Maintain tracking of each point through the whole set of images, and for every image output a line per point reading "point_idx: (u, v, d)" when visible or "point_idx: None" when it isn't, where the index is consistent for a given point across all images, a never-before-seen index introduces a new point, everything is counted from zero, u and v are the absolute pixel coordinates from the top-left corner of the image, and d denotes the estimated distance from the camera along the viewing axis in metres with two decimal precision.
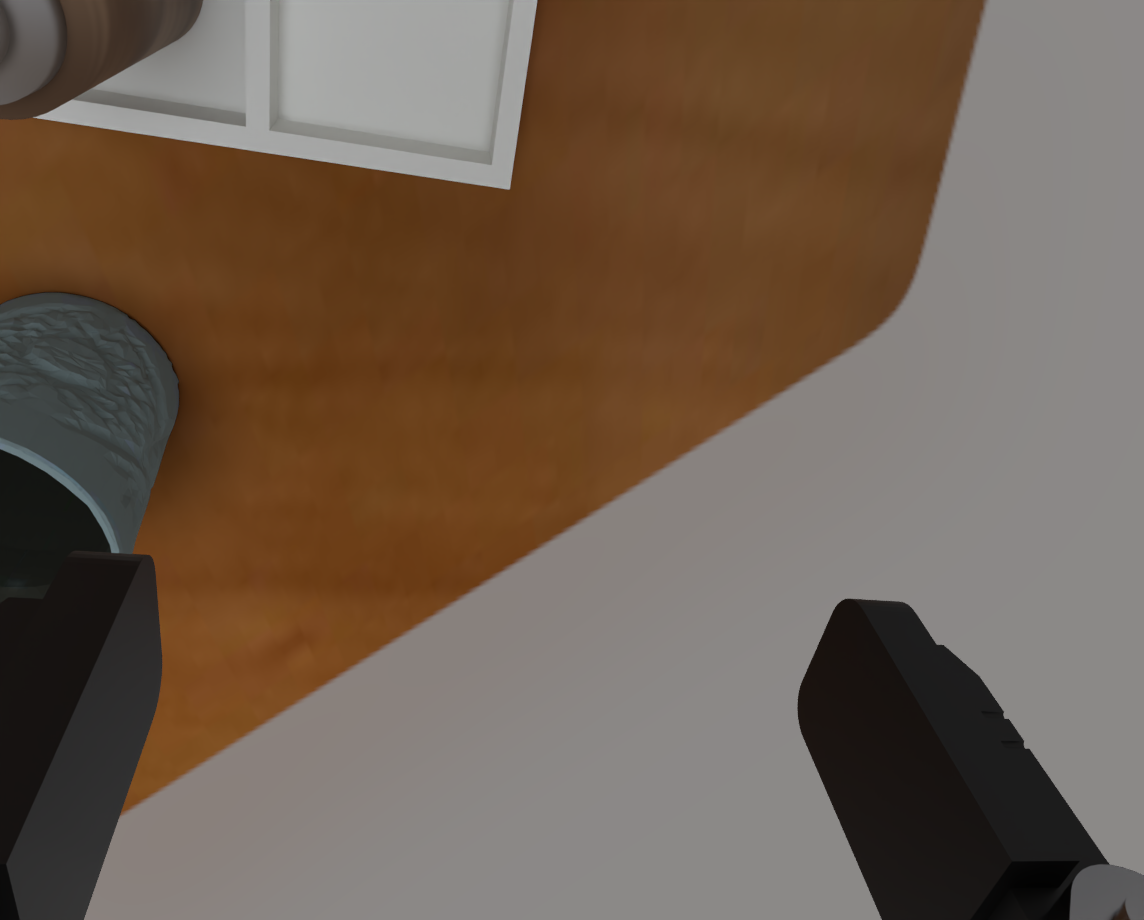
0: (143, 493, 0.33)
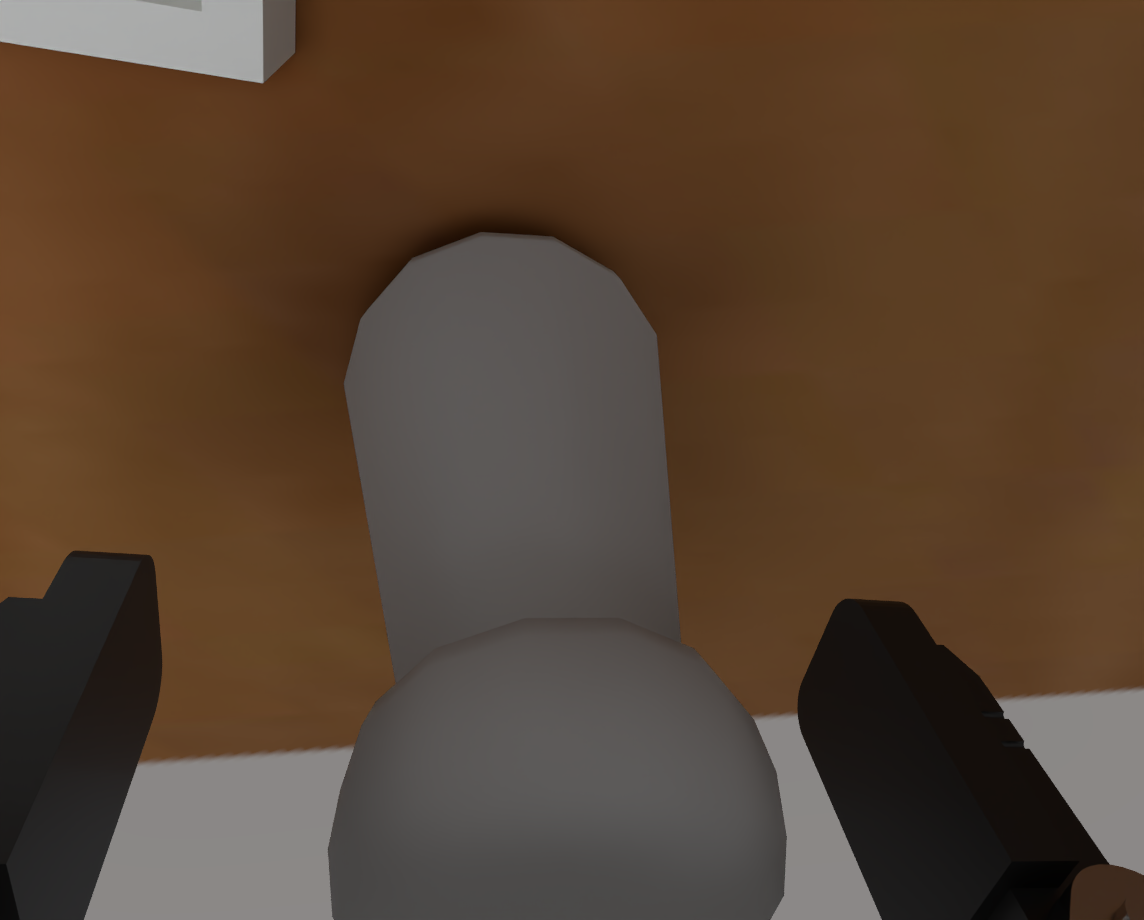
0: None
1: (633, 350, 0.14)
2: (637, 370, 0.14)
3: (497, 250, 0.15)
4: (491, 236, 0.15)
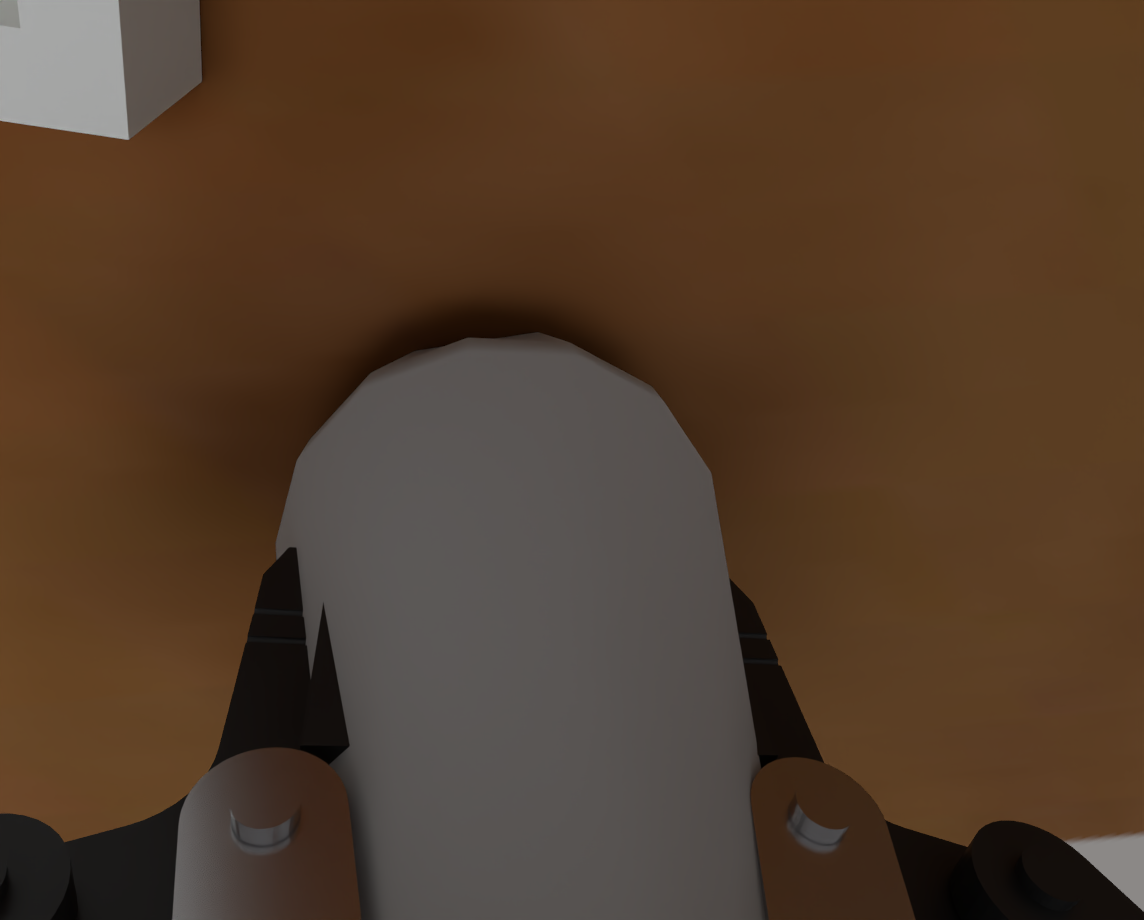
0: None
1: (691, 522, 0.10)
2: (698, 558, 0.09)
3: (491, 372, 0.10)
4: (484, 347, 0.10)
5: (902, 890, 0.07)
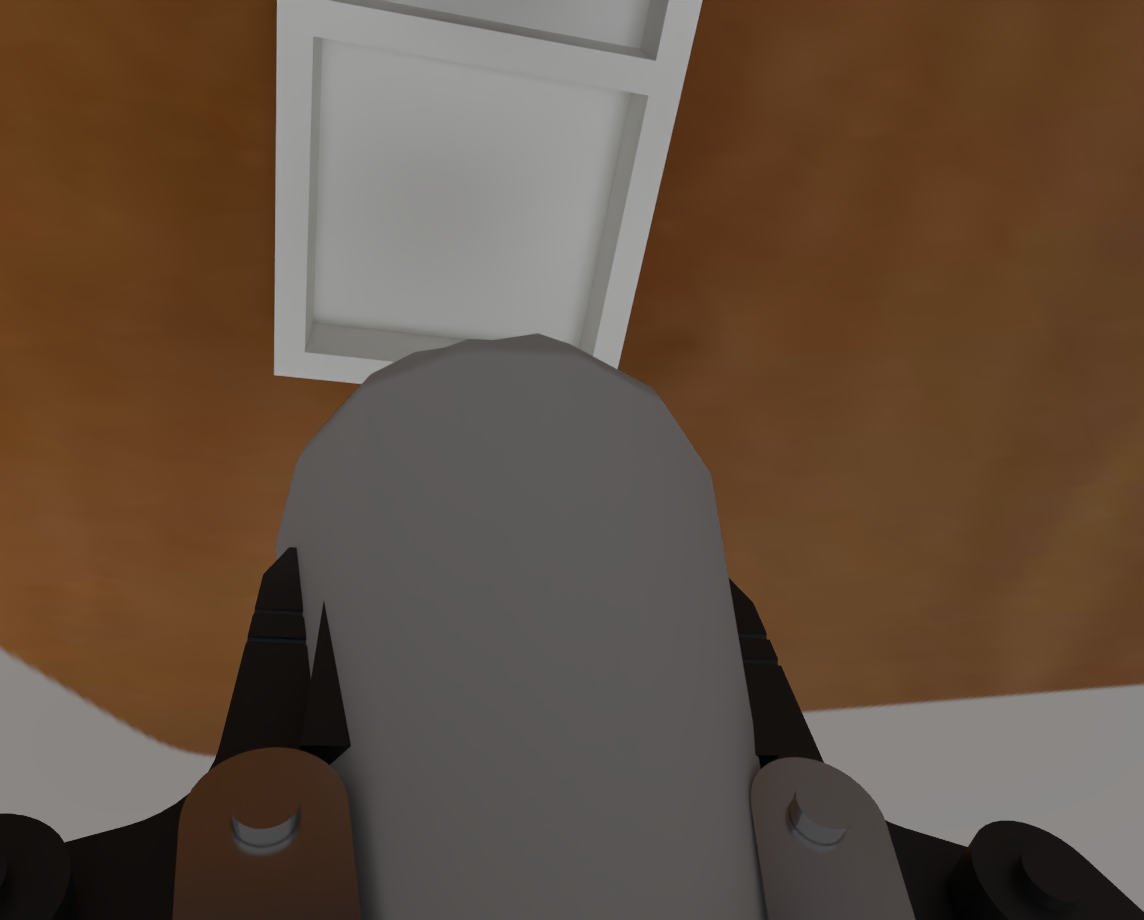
0: None
1: (691, 526, 0.10)
2: (699, 560, 0.09)
3: (491, 374, 0.10)
4: (484, 349, 0.10)
5: (902, 890, 0.07)
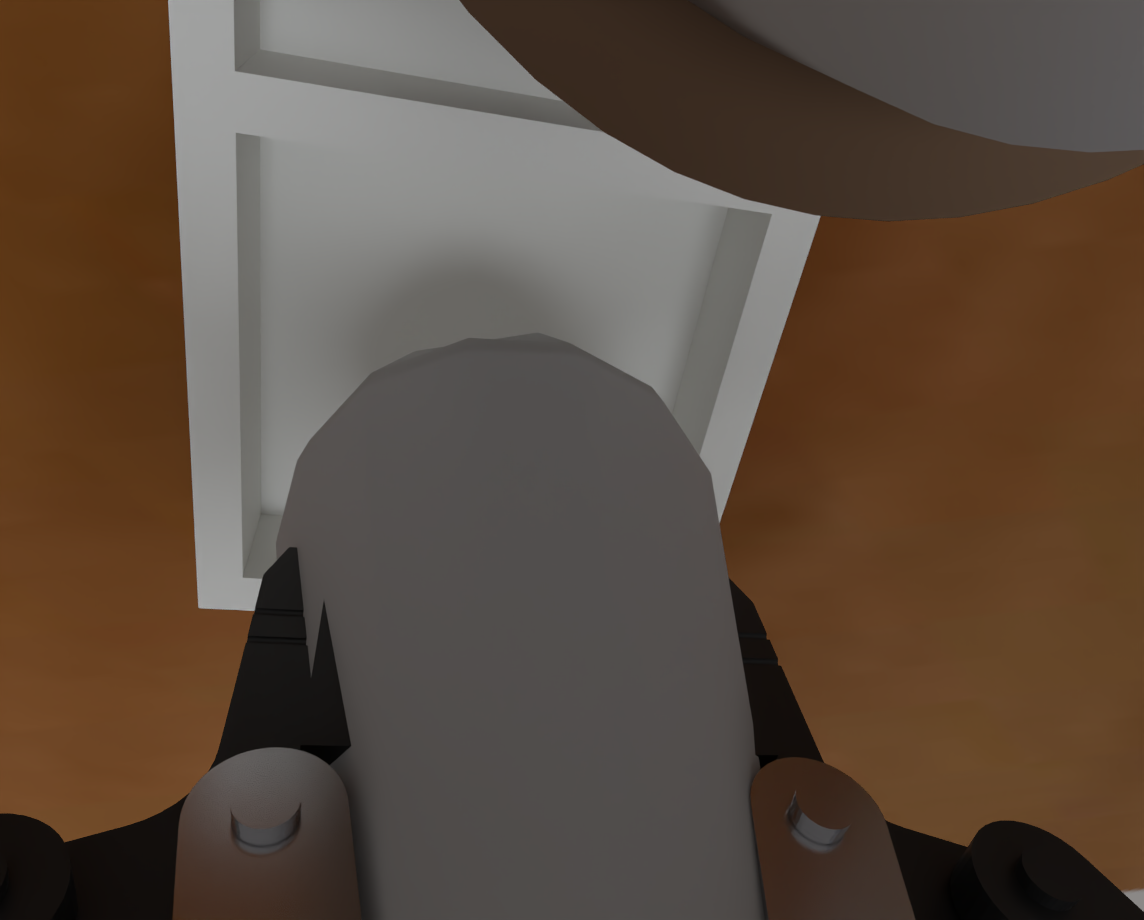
0: None
1: (691, 524, 0.10)
2: (699, 559, 0.09)
3: (491, 372, 0.10)
4: (484, 347, 0.10)
5: (902, 890, 0.07)
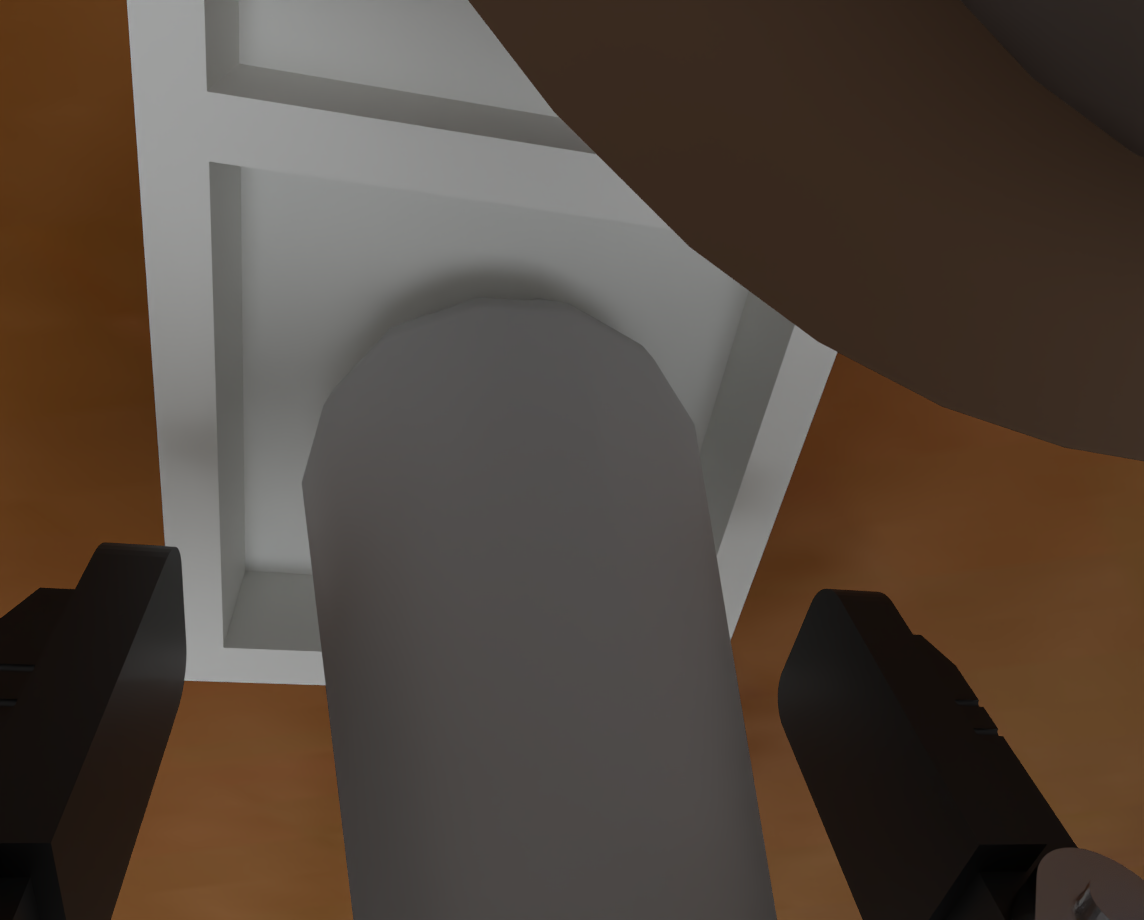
0: None
1: (676, 460, 0.11)
2: (683, 489, 0.11)
3: (500, 326, 0.11)
4: (492, 305, 0.12)
5: None
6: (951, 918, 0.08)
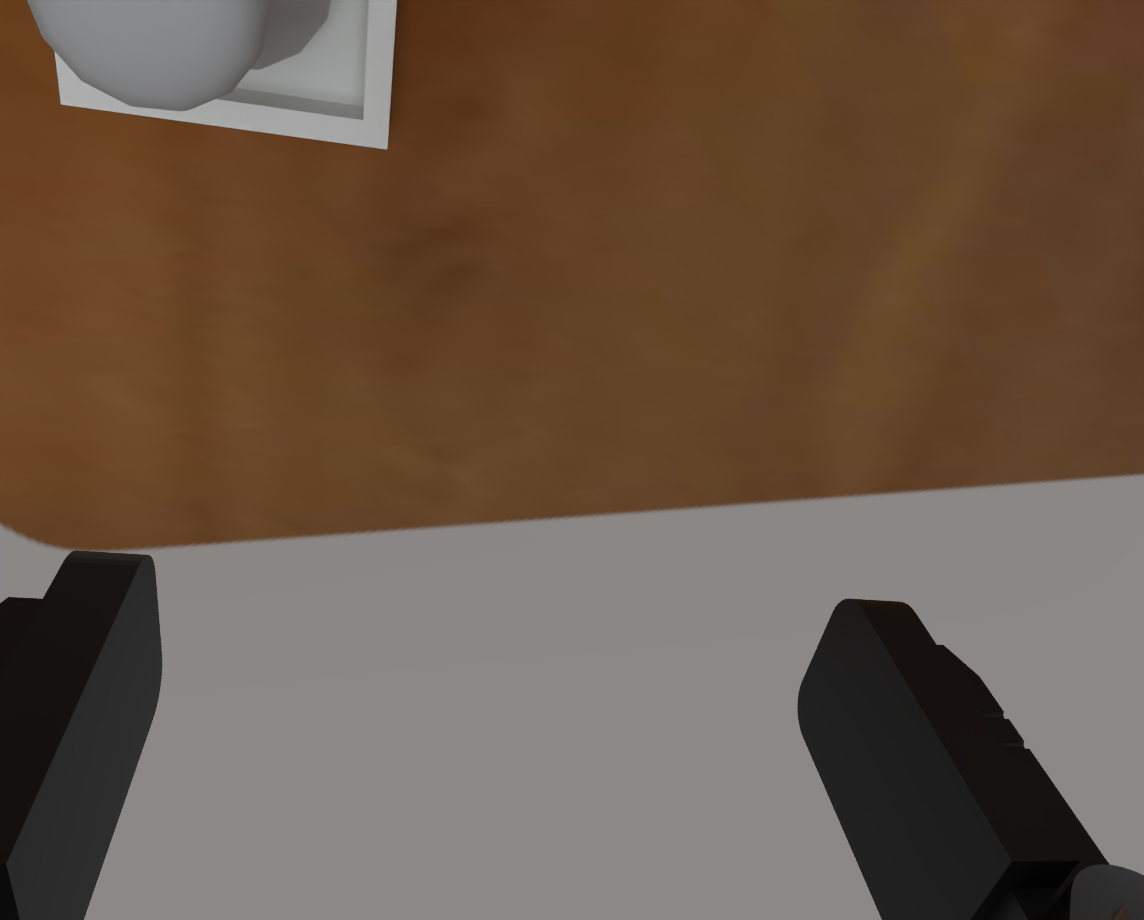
0: None
1: None
2: None
3: None
4: None
5: None
6: None
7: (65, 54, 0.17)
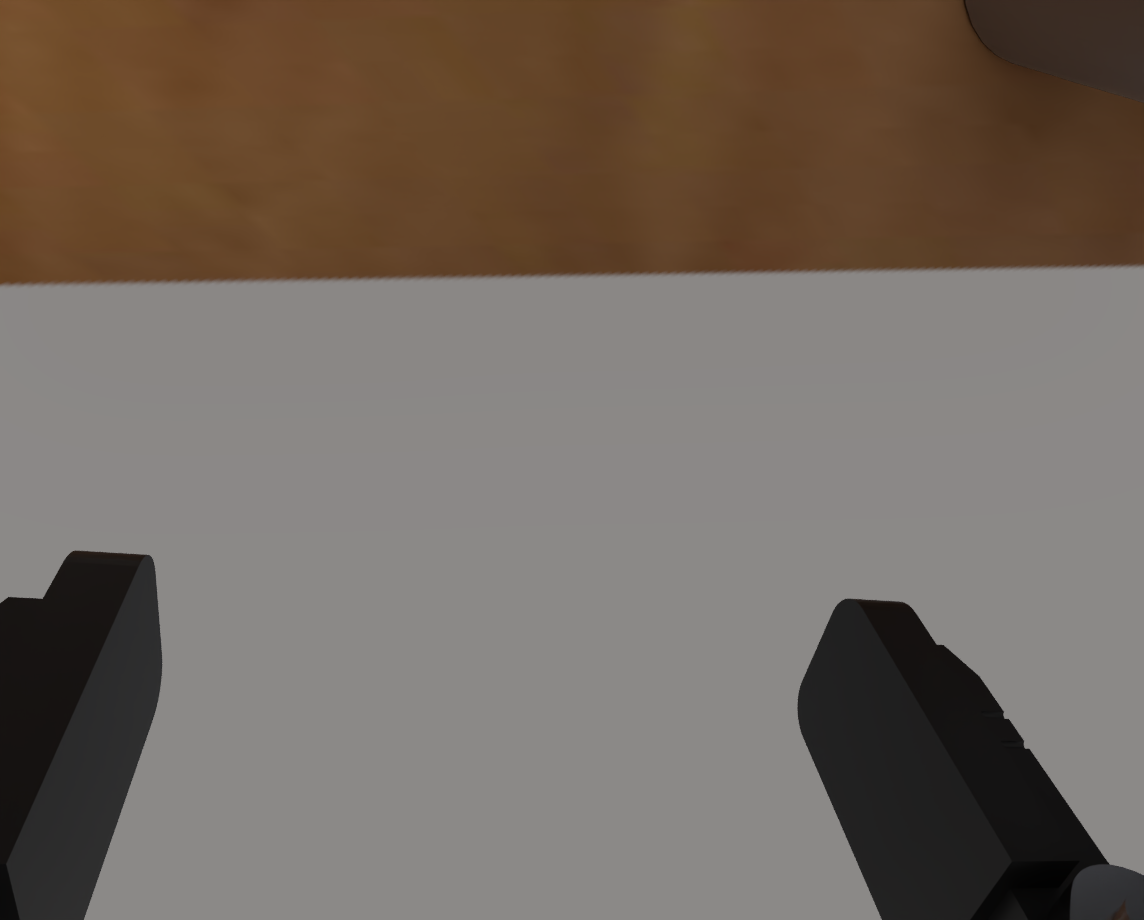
0: None
1: None
2: None
3: None
4: None
5: None
6: None
7: None
